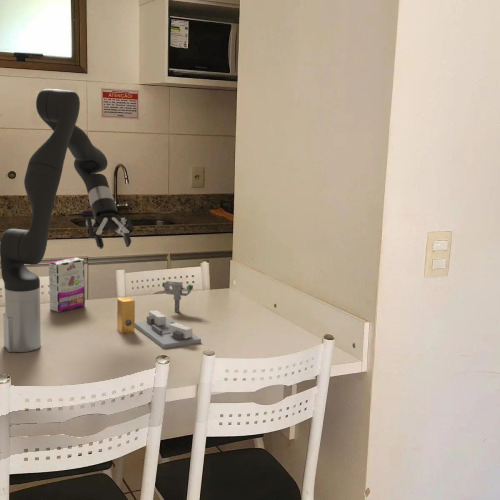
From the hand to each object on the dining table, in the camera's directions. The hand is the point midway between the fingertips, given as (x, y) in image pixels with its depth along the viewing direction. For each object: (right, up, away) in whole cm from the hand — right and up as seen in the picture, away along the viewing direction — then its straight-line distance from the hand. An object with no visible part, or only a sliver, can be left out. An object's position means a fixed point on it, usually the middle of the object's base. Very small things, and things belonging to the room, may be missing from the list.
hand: (115, 246), depth 207 cm
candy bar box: (-20, -21, +19) cm, 35 cm away
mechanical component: (+17, -22, +21) cm, 35 cm away
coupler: (+3, -26, -1) cm, 26 cm away
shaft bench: (+16, -27, -2) cm, 31 cm away
